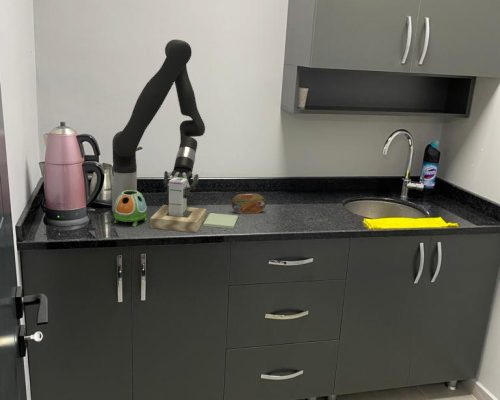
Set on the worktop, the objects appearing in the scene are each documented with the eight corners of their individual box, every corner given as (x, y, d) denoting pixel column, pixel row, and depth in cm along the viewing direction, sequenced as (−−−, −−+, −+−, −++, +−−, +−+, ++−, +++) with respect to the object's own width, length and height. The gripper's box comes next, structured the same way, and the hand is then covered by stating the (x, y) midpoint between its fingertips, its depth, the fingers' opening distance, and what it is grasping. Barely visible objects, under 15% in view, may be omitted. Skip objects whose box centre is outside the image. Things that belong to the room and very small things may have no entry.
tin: (231, 214, 215) (232, 195, 213) (230, 211, 218) (231, 193, 216) (265, 213, 219) (266, 194, 217) (263, 211, 222) (264, 192, 220)
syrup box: (182, 217, 196) (183, 181, 192) (168, 215, 197) (168, 179, 193) (187, 213, 201) (188, 178, 197) (173, 211, 202) (173, 176, 198)
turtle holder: (155, 214, 208) (155, 186, 205) (138, 228, 191) (138, 198, 188) (126, 211, 210) (126, 183, 207) (108, 224, 193) (107, 195, 189)
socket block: (150, 228, 192) (150, 218, 191) (163, 214, 209) (163, 204, 208) (196, 232, 190) (196, 222, 189) (205, 218, 208) (206, 208, 206)
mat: (203, 225, 198) (203, 223, 198) (210, 215, 211) (210, 213, 211) (233, 228, 197) (233, 226, 197) (238, 217, 210) (238, 215, 210)
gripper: (166, 154, 201) (157, 190, 193) (201, 157, 199) (193, 193, 191) (169, 164, 207) (160, 199, 199) (203, 167, 206) (196, 203, 198)
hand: (177, 196), depth 195 cm, fingers closed on syrup box, 6 cm apart
